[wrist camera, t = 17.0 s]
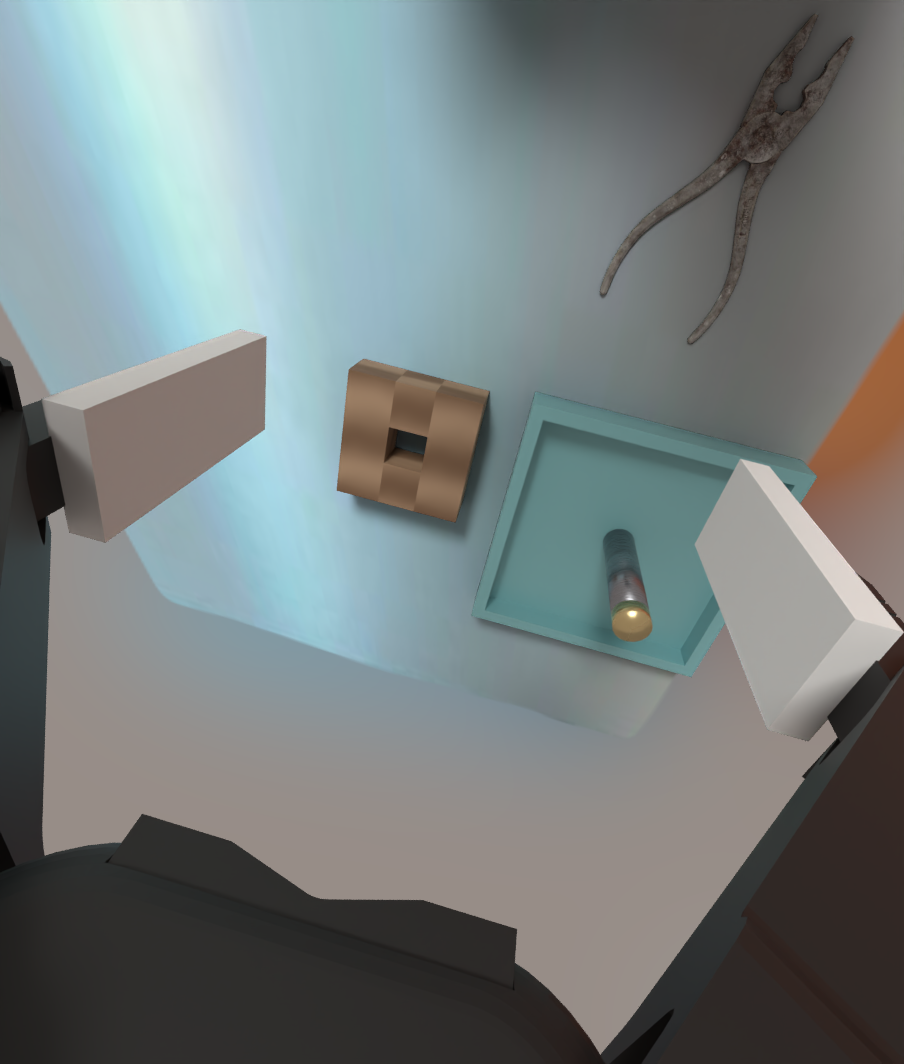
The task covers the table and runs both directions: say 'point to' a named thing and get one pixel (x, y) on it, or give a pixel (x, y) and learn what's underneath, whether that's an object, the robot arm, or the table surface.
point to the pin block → (417, 407)
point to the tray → (604, 505)
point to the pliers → (748, 158)
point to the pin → (626, 587)
